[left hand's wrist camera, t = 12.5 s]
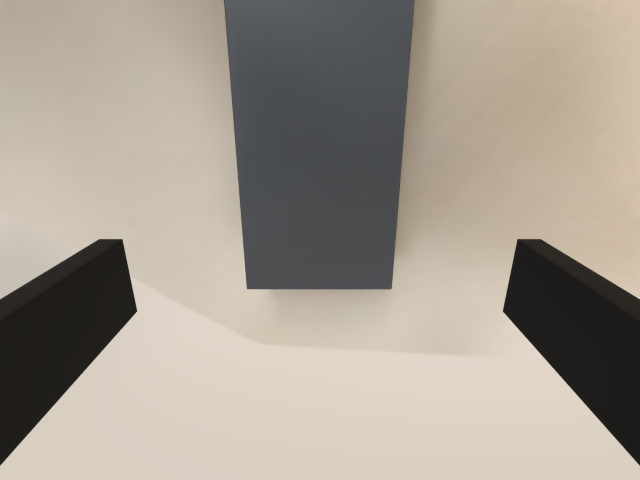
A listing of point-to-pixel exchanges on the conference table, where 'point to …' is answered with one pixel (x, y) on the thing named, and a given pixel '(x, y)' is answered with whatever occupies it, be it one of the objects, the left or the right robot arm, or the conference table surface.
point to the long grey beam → (319, 137)
